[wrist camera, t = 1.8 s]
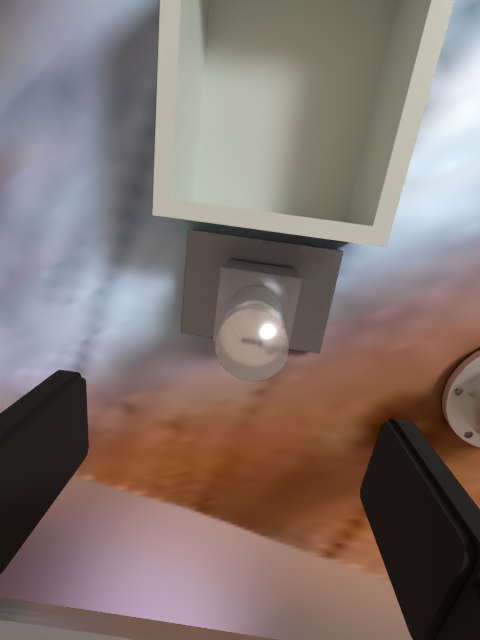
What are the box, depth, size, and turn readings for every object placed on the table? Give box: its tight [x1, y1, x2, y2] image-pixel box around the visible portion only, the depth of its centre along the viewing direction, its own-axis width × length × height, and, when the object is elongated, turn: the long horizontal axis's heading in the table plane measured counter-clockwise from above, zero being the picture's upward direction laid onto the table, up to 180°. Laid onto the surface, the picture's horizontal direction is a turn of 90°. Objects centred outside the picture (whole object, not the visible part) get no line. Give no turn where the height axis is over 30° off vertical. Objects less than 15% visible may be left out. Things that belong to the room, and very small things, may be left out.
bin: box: [153, 0, 455, 247], centre depth 21 cm, size 16×18×8 cm
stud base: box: [181, 230, 343, 353], centre depth 27 cm, size 14×10×6 cm
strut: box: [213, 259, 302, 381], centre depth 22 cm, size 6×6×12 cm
